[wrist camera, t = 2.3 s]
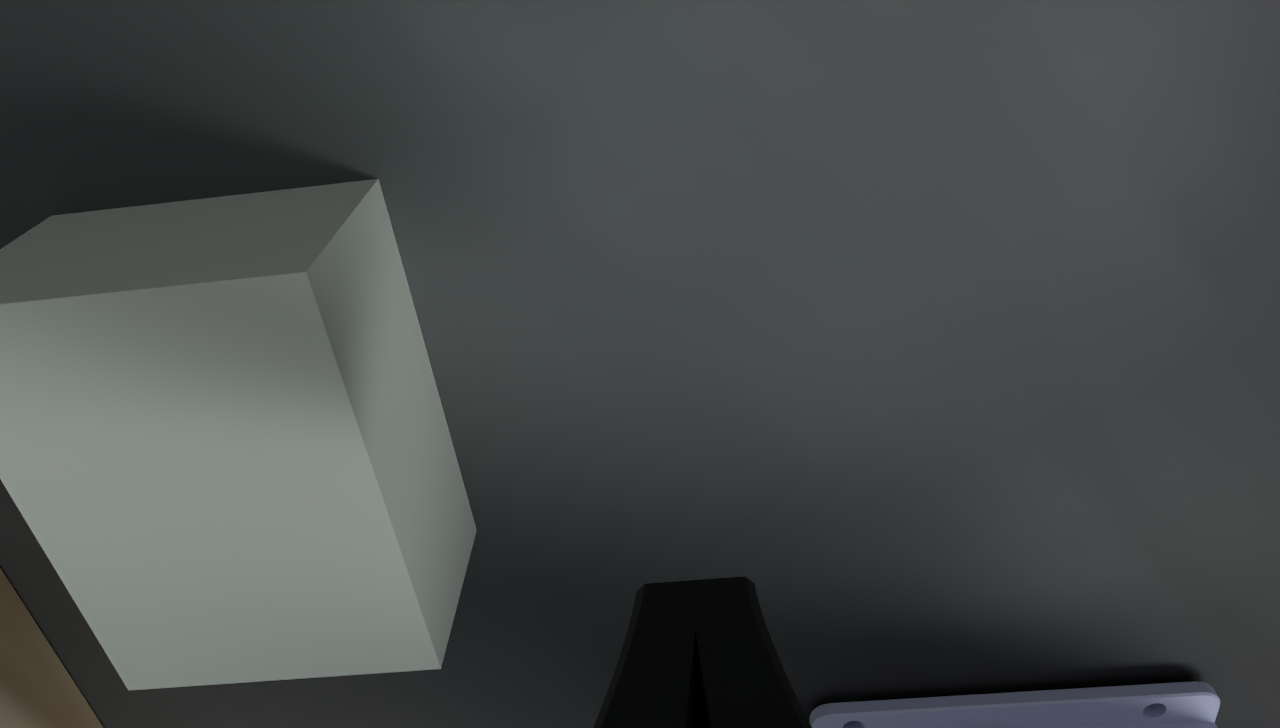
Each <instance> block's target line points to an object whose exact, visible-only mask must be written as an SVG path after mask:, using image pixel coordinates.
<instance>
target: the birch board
mask: <svg viewBox="0 0 1280 728" xmlns="http://www.w3.org/2000/svg"><path fill="white" fill-rule="evenodd" d="M0 728H103V726H102V725H101V723H100V722H99V720H98V719H97V717H96V715H95V714H94V712H93V711H92V709H91V708H90V706H89V705H88V703H87V701H86V700H85V698H84V697H83V695H82V694H81V692H80V691H79V689H78V688H77V686H76V684H75V683H74V681H73V680H72V678H71V677H70V675H69V674H68V672H67V670H66V669H65V667H64V666H63V664H62V663H61V661H60V660H59V658H58V657H57V655H56V653H55V652H54V650H53V649H52V647H51V646H50V644H49V643H48V641H47V639H46V638H45V636H44V635H43V633H42V632H41V630H40V629H39V627H38V626H37V624H36V622H35V621H34V619H33V618H32V616H31V615H30V613H29V612H28V610H27V608H26V607H25V605H24V604H23V602H22V601H21V599H20V598H19V596H18V595H17V593H16V591H15V590H14V588H13V587H12V585H11V584H10V582H9V581H8V579H7V577H6V576H5V574H4V573H3V571H2V570H1V568H0Z"/></svg>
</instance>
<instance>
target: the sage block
mask: <svg viewBox="0 0 1280 728" xmlns="http://www.w3.org/2000/svg"><path fill="white" fill-rule="evenodd" d="M0 479H1V481H2V483H3V484H4V486H5V488H6V489H7V491H8V493H9V494H10V496H11V498H12V499H13V501H14V503H15V504H16V506H17V507H18V509H19V511H20V512H21V514H22V516H23V517H24V519H25V521H26V522H27V524H28V526H29V527H30V529H31V531H32V532H33V534H34V535H35V537H36V539H37V540H38V542H39V544H40V545H41V547H42V549H43V550H44V552H45V554H46V555H47V557H48V559H49V560H50V562H51V564H52V565H53V567H54V568H55V570H56V572H57V573H58V575H59V577H60V578H61V580H62V582H63V583H64V585H65V587H66V588H67V590H68V592H69V593H70V595H71V597H72V598H73V600H74V601H75V603H76V605H77V606H78V608H79V610H80V611H81V613H82V615H83V616H84V618H85V620H86V621H87V623H88V625H89V626H90V628H91V630H92V631H93V633H94V634H95V636H96V638H97V639H98V641H99V643H100V644H101V646H102V648H103V649H104V651H105V653H106V654H107V656H108V658H109V659H110V661H111V663H112V664H113V666H114V667H115V669H116V671H117V672H118V674H119V676H120V677H121V679H122V681H123V682H124V684H125V686H126V687H127V689H128V690H142V689H157V688H172V687H186V686H201V685H215V684H230V683H244V682H259V681H273V680H288V679H302V678H317V677H332V676H346V675H361V674H375V673H390V672H404V671H419V670H433V669H441V667H442V663H443V659H444V655H445V651H446V647H447V643H448V640H449V636H450V632H451V628H452V624H453V620H454V616H455V612H456V609H457V605H458V601H459V597H460V593H461V589H462V585H463V581H464V578H465V574H466V570H467V566H468V562H469V558H470V554H471V550H472V547H473V543H474V539H475V535H476V531H477V529H476V526H475V522H474V519H473V515H472V511H471V508H470V504H469V501H468V497H467V494H466V490H465V486H464V483H463V479H462V476H461V472H460V469H459V465H458V461H457V458H456V454H455V451H454V447H453V444H452V440H451V436H450V433H449V429H448V426H447V422H446V419H445V415H444V411H443V408H442V404H441V401H440V397H439V394H438V390H437V386H436V383H435V379H434V376H433V372H432V369H431V365H430V361H429V358H428V354H427V351H426V347H425V344H424V340H423V336H422V333H421V329H420V326H419V322H418V319H417V315H416V311H415V308H414V304H413V301H412V297H411V294H410V290H409V286H408V283H407V279H406V276H405V272H404V269H403V265H402V261H401V258H400V254H399V251H398V247H397V244H396V240H395V236H394V233H393V229H392V226H391V222H390V219H389V215H388V211H387V208H386V204H385V201H384V197H383V194H382V190H381V186H380V183H379V179H373V180H364V181H355V182H346V183H337V184H329V185H320V186H311V187H302V188H293V189H284V190H275V191H266V192H257V193H249V194H240V195H231V196H222V197H213V198H204V199H195V200H186V201H177V202H168V203H160V204H151V205H142V206H133V207H124V208H115V209H106V210H97V211H88V212H80V213H71V214H62V215H53V216H50V217H49V218H47V219H46V220H44V221H43V222H41V223H40V224H38V225H36V226H35V227H33V228H32V229H30V230H29V231H27V232H26V233H24V234H23V235H21V236H20V237H18V238H17V239H15V240H14V241H12V242H11V243H9V244H8V245H6V246H4V247H3V248H1V249H0Z"/></svg>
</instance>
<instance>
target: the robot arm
mask: <svg viewBox="0 0 1280 728" xmlns="http://www.w3.org/2000/svg"><path fill="white" fill-rule="evenodd" d="M1219 707H1220V699H1219V697H1218V696H1217V694H1216V693H1215V691H1214V689H1213V688H1212V687H1211V686H1210V685H1209V684H1207V683H1204V682H1197V681H1191V682H1174V683H1157V684H1141V685H1124V686H1107V687H1091V688H1074V689H1057V690H1040V691H1024V692H1007V693H990V694H974V695H957V696H940V697H924V698H907V699H890V700H874V701H857V702H840V703H828V704H822V705H820V706H818V707H816V708H815V709H814V710H813V711H812V712H811V714H810V718H809V721H810V723H809V721H808V719H807V717H806V715H805V713H804V711H803V709H802V707H801V705H800V703H799V701H798V699H797V697H796V695H795V693H794V691H793V689H792V687H791V684H790V682H789V680H788V678H787V676H786V674H785V671H784V669H783V667H782V664H781V662H780V660H779V657H778V655H777V652H776V650H775V648H774V645H773V643H772V640H771V638H770V635H769V632H768V630H767V627H766V624H765V621H764V618H763V615H762V612H761V608H760V605H759V602H758V598H757V594H756V589H755V584H754V583H753V582H752V581H750V580H749V579H748V578H746V577H733V578H719V579H705V580H692V581H678V582H664V583H650V584H644V585H643V586H642V587H641V588H640V589H639V590H638V591H637V592H636V598H635V603H634V608H633V613H632V617H631V621H630V624H629V628H628V632H627V635H626V639H625V642H624V645H623V649H622V652H621V655H620V658H619V661H618V664H617V667H616V670H615V673H614V676H613V679H612V682H611V684H610V687H609V690H608V692H607V695H606V697H605V700H604V702H603V705H602V708H601V710H600V713H599V715H598V718H597V721H596V723H595V726H594V728H1218V727H1217V726H1216V724H1215V719H1216V716H1217V713H1218V710H1219Z"/></svg>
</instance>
